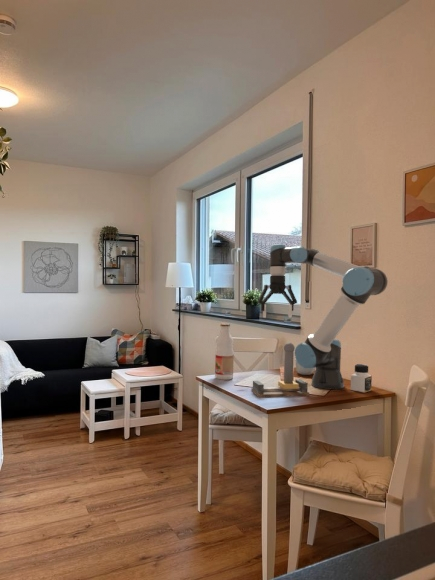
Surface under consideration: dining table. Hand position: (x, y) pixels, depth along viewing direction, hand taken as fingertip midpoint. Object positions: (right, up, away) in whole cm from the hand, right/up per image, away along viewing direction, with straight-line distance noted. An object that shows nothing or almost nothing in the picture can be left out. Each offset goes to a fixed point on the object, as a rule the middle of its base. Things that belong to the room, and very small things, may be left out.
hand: (277, 317), depth 215 cm
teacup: (+19, -33, +23) cm, 44 cm away
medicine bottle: (+37, -33, -14) cm, 52 cm away
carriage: (+2, -30, -22) cm, 37 cm away
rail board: (-2, -32, -23) cm, 40 cm away
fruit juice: (-27, -32, +7) cm, 42 cm away
